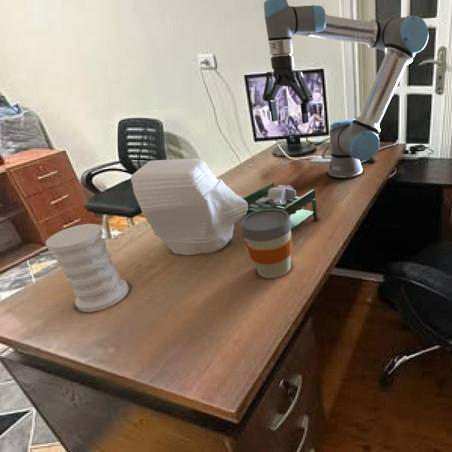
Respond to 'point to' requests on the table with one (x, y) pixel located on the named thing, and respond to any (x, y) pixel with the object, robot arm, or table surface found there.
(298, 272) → the table surface
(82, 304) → the decorative container
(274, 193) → the bunny figurine
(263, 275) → the reusable coffee cup
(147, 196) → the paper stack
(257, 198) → the rack
